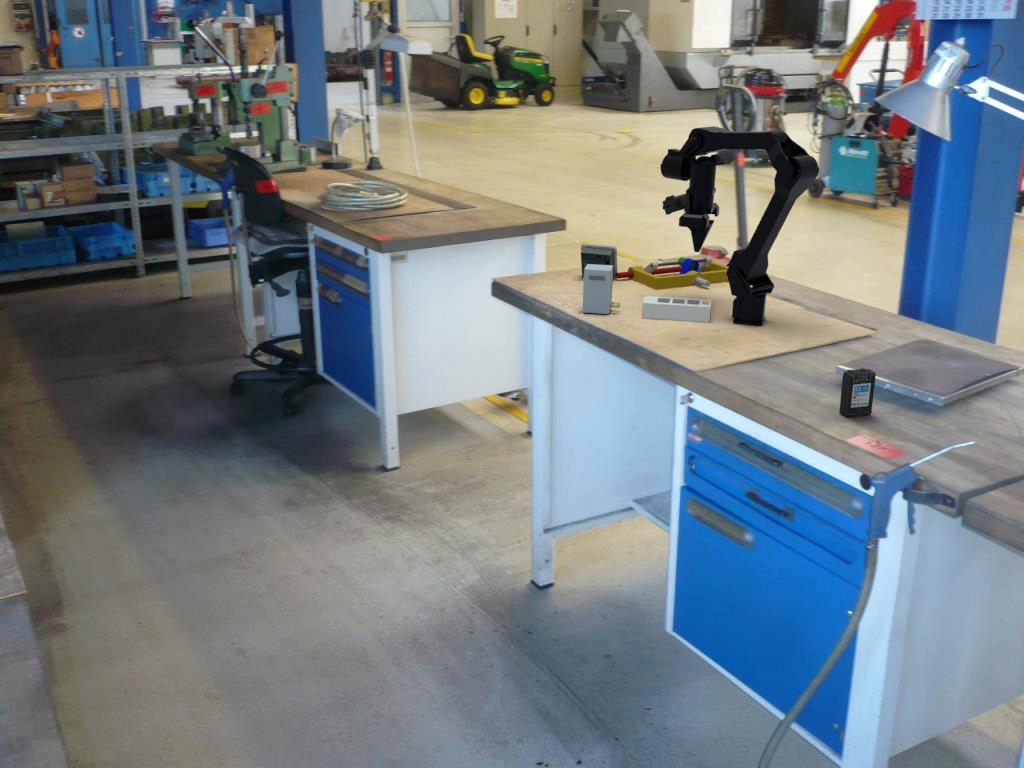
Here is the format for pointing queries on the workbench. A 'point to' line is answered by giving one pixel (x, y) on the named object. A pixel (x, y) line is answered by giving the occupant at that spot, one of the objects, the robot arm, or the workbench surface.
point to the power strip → (676, 309)
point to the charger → (598, 289)
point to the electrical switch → (599, 256)
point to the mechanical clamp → (689, 274)
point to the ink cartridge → (857, 392)
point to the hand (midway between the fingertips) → (696, 251)
